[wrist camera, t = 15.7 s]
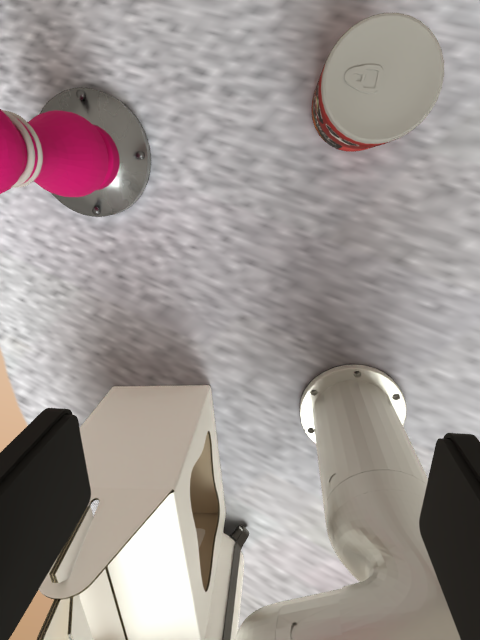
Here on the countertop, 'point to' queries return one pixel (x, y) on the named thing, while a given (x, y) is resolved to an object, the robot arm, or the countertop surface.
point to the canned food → (378, 82)
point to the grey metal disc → (128, 143)
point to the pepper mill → (56, 153)
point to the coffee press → (226, 586)
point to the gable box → (143, 521)
